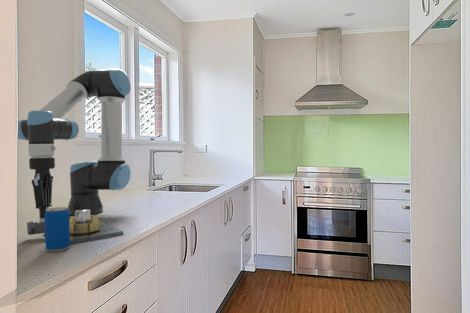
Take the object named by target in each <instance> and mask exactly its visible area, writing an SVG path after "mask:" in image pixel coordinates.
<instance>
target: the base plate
mask: <svg viewBox="0 0 470 313" xmlns="http://www.w3.org/2000/svg"><path fill="white" fill-rule="evenodd" d="M91 215H92V214H91ZM91 215H90V210H89V209H83V210H77V211H75V215H74V216H75V220H76V224H81V223H88V219H91ZM122 235H124V231H123V230H121V229H120V228H117V227H116V226H113V225H111V224H109V223H106V222H104V221H101V228H100V229H99V230H96V231H93V232H88V233H78V234H76V233H74V234H72V233H70V245H73V244H78V243H85V242H91V241H96V240H101V239H108V238H113V237H118V236H122Z"/></svg>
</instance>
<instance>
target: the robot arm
mask: <svg viewBox="0 0 470 313" xmlns="http://www.w3.org/2000/svg"><path fill="white" fill-rule="evenodd" d="M130 81H131V80H130V79H129V77H128V75H127V73H126V72H125V71H124V70H122V69H120V68H105V69H94V70H93V69H91V70H89V71H86V72H83V73H81V74H80V75H78V76H76V77H75V78H73V79H72V80H70V81H69V82H68V83H67V84H66V87H65V89H63V90H62V91H61V92H60V93H59V94H57V95H55V97H53V98H52V99H51V100H50V101H49V102H47V103H46V104H45V105H44V106H42V107H41V108H40V109H38V110H30V111H29V112H28V113H27V119H21V120H19V119H18V120H17V121H18V138H17V139H18V140H21V141H28V146H27V147H28V157H30V158H29V160H28V163H29V164H28V165H29V169H30V170H34V176H33V177H34V178H33V179H31V184H32V187H33V188H32V190H33V194H34V202H35V209H38V216H39V217H38V218H39V219H38V220H39V221H38V222H39V223H40V222H45V213H46V209H50V208H53V207H52V206H53V204H52V199H53V198H52V197H53V196H52V194H53V181H54V180H53V179H54V176H53V175H51V172H50V171H51V170H52V169H55V167H56V162H55V161H56V160H55V159H56V158H55V157H54V156H55V150H56V148H57V147H56V146H55V141H58V140H65V141H69V140H73V139H75V138H77V136H78V135H79V132H80V131H79V130H80V128H79V125H78V123H77V122H76V121H75V120H73V119H68V118H64V116H65V115H66V114H68V113H69V112H70V111H71V110H72V109H73V108H74V107H75V106H77V104H78V103H81V102H84V101H85V100H87V99H89V98H93V97H94V98H95V97H97V100H98V101H99V102H100V103H101V109H100V110H101V111H100V112H101V114H100V115H101V116H100V118H101V123H100V124H101V126H100V129H101V134H100V136H101V138H100V139H101V143H100V145H101V150H100V151H101V152H100V154H101V155H100V157H99V158H98V159H97V160H92V161H86V162H85V161H83V162H76V163H73V164H71V166H70V169H69V171H70V172H69V175H70V176H69V178H70V179H69V182H70V198H69V202H68V205H67V208H68V209H67V210H68V211H69V216H75V211H77V210H83V209H89V210H90V215H98V214H100V213H102V212H104V205H103V204H102V201H101V197H100V195H99V191H122V190H123V189H125V188H126V187H127V186H128V185H129V183H130V180H131V175H132V174H131V173H132V172H131V168H130V166H129V165H128V164H127V163H126V160H125V158H124V157H123V156H122V153H123V152H122V149H123V148H122V147H123V146H122V145H123V144H122V141H123V140H122V139H123V138H122V135H123V133H122V127H123V126H122V125H123V124H122V119H123V118H122V116H123V114H122V109H123V108H122V106H123V105H122V104H123V103H124V102H125V101H126V96H128V95H130V92H131V90H132V89H131V82H130ZM50 169H51V170H50Z"/></svg>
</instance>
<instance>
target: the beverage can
mask: <svg viewBox="0 0 470 313" xmlns="http://www.w3.org/2000/svg"><path fill="white" fill-rule="evenodd" d="M67 209H68V207H64V206H63V207H62V206H61V207H60V206H57V207H49V209H46V213H45V233H44V239H45V244H44V245H45V250H46V251H48V252H51V253H58V252H63V251H66V250H68V248H69V247H70V246H71V244H70V222H69V220H70V215H69V211H68V210H67Z"/></svg>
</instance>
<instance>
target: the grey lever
mask: <svg viewBox="0 0 470 313" xmlns="http://www.w3.org/2000/svg"><path fill="white" fill-rule="evenodd" d="M69 222H70V233H72V234H74V233H76V234H78V233H88V232H93V231H96V230H99V229H100V228H101V222H102V220H101V218H98V214H91V219H88V223H81V224H76V220H75V215H71V216H69ZM26 225H27V226H26V228H27V230H26V231H27V235H29V236H30V235H32V236H33V235H40V234H45V222H40V221H39V222H38V221H35V220H33V221H27V223H26Z"/></svg>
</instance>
